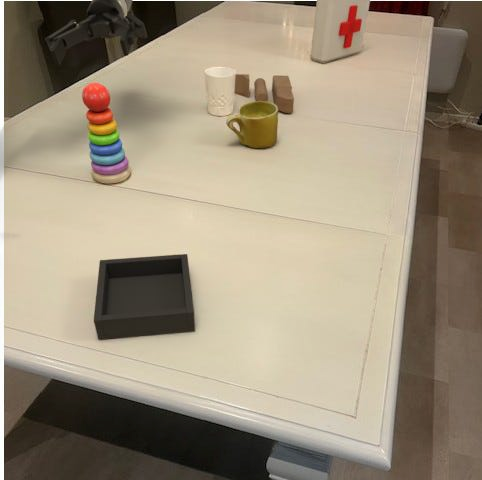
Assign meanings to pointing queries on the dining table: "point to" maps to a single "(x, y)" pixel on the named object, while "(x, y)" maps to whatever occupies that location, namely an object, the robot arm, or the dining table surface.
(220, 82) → the white cup
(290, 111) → the wooden block set
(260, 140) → the mug
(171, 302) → the socket pad
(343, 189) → the dining table surface
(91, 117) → the stacking toy
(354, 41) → the bevelled white case
